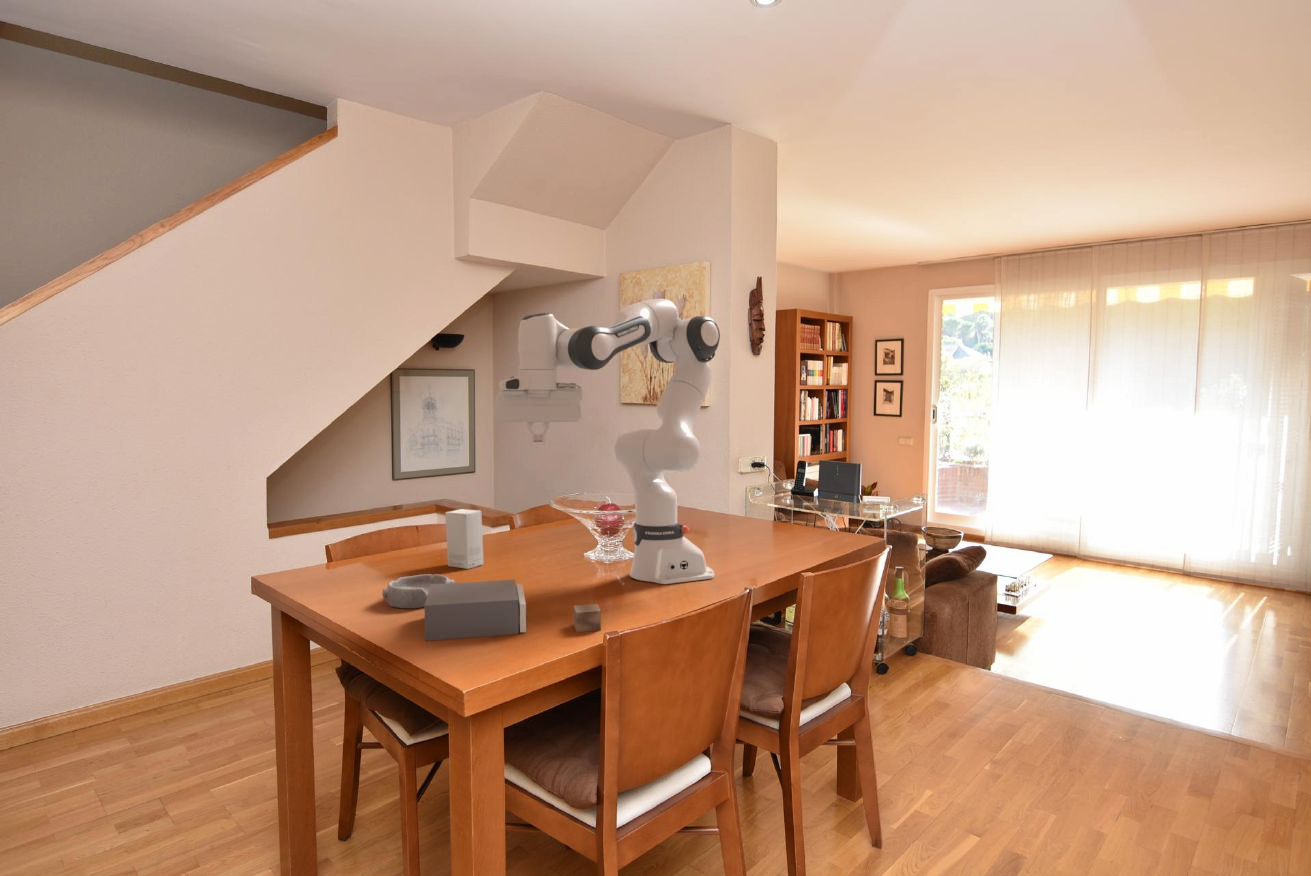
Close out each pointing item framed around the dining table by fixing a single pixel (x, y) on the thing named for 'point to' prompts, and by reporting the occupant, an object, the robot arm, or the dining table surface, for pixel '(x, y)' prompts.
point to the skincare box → (464, 538)
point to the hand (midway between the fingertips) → (538, 441)
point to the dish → (412, 590)
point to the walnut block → (586, 617)
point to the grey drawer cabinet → (471, 610)
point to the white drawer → (521, 608)
